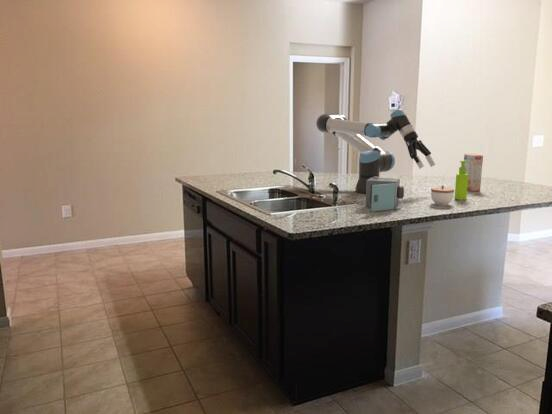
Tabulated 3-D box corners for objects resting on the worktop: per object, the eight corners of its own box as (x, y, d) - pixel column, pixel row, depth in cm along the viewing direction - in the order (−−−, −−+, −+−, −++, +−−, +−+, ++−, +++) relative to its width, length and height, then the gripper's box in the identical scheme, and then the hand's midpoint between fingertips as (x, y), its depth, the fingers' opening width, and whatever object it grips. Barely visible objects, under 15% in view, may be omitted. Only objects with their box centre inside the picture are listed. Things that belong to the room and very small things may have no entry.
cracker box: (480, 191, 273) (483, 155, 269) (470, 191, 274) (473, 155, 270) (471, 187, 287) (473, 153, 283) (461, 187, 287) (463, 153, 283)
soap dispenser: (469, 199, 246) (472, 161, 242) (455, 199, 248) (458, 161, 244) (467, 197, 252) (470, 160, 248) (453, 197, 253) (456, 160, 249)
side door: (371, 211, 216) (372, 185, 213) (394, 208, 222) (395, 183, 220) (373, 211, 214) (374, 185, 212) (397, 208, 221) (398, 183, 218)
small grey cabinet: (370, 202, 238) (371, 175, 236) (404, 205, 232) (405, 177, 229) (365, 207, 227) (366, 178, 225) (400, 209, 221) (402, 180, 218)
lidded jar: (429, 205, 231) (430, 186, 229) (430, 201, 241) (432, 183, 239) (452, 207, 227) (454, 187, 225) (453, 203, 237) (454, 184, 235)
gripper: (403, 131, 253) (422, 164, 248) (424, 130, 271) (443, 161, 266) (392, 138, 258) (411, 171, 253) (414, 137, 276) (432, 168, 271)
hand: (427, 166), depth 259 cm, fingers open, 13 cm apart
